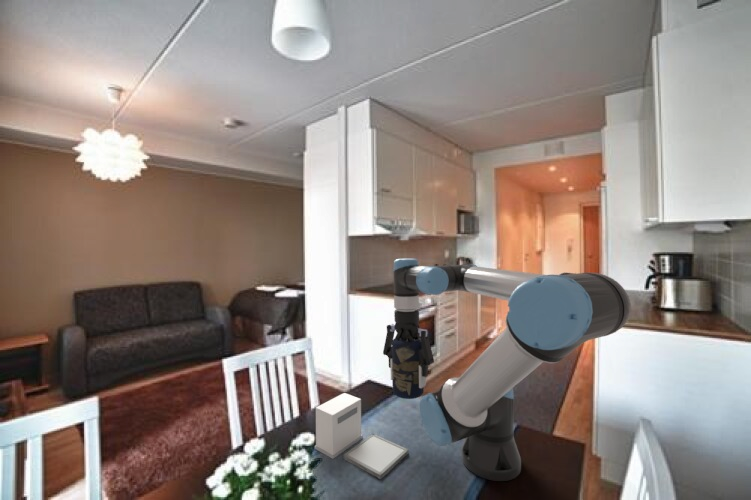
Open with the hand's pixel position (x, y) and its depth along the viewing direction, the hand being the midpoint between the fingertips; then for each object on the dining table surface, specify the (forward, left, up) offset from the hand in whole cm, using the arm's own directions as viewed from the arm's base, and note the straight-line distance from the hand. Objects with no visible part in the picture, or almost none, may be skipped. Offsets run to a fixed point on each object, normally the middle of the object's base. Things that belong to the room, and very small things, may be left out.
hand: (407, 382), depth 100 cm
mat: (+2, +13, -17) cm, 21 cm away
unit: (+15, +15, -17) cm, 27 cm away
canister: (0, 0, -4) cm, 4 cm away
